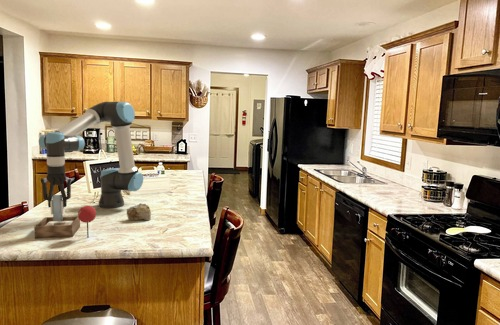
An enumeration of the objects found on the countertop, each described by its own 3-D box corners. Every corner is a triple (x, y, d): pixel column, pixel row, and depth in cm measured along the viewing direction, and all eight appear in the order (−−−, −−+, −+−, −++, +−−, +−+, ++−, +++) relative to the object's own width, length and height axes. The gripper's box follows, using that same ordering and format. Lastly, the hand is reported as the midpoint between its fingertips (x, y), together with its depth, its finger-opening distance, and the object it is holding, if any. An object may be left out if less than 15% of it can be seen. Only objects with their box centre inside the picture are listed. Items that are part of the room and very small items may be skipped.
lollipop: (82, 235, 180) (81, 204, 178) (98, 234, 180) (98, 204, 179) (76, 240, 172) (75, 208, 170) (93, 240, 173) (92, 208, 171)
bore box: (80, 226, 192) (79, 216, 192) (72, 236, 177) (72, 225, 176) (45, 228, 189) (45, 217, 188) (34, 238, 173) (34, 226, 173)
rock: (154, 215, 213) (148, 199, 210) (152, 220, 207) (145, 203, 204) (133, 221, 213) (126, 205, 210) (131, 226, 207) (124, 210, 204)
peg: (63, 218, 184) (62, 194, 183) (61, 221, 180) (60, 196, 179) (54, 219, 184) (53, 194, 182) (52, 221, 180) (51, 196, 178)
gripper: (77, 164, 184) (78, 211, 187) (38, 164, 181) (40, 212, 183) (73, 166, 177) (75, 215, 180) (33, 166, 173) (35, 216, 176)
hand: (57, 213), depth 182 cm, fingers closed on peg, 4 cm apart
